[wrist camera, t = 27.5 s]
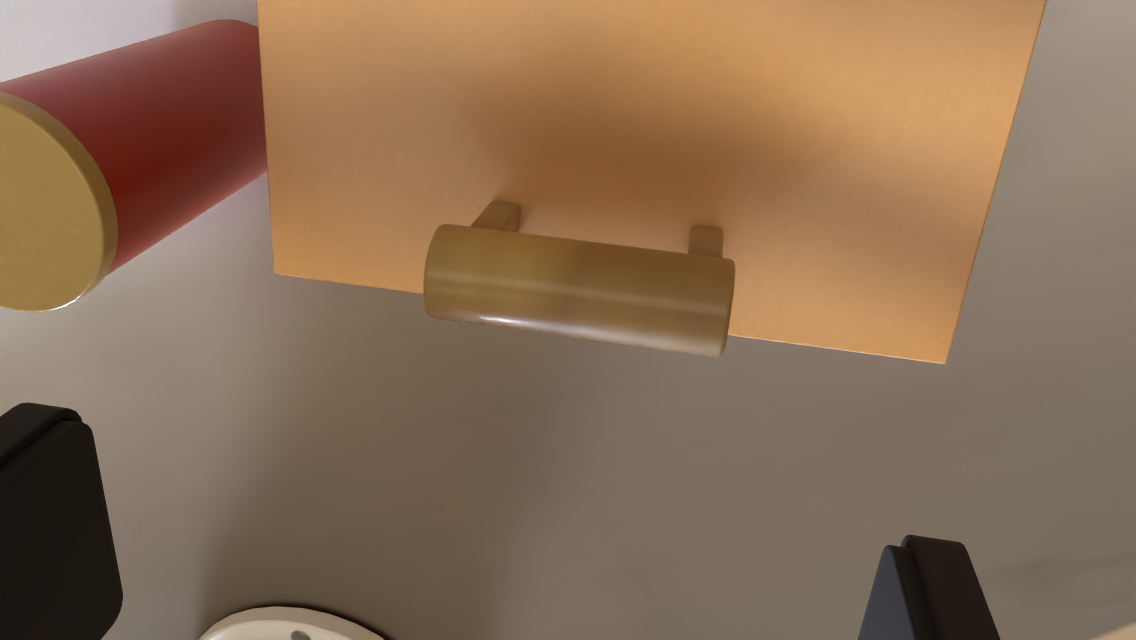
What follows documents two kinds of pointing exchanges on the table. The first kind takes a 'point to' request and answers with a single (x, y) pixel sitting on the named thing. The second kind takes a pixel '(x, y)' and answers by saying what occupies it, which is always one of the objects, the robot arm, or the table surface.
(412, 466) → the table surface
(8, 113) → the tea tin
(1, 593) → the robot arm
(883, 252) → the tea box lid
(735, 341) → the table surface
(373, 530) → the table surface
